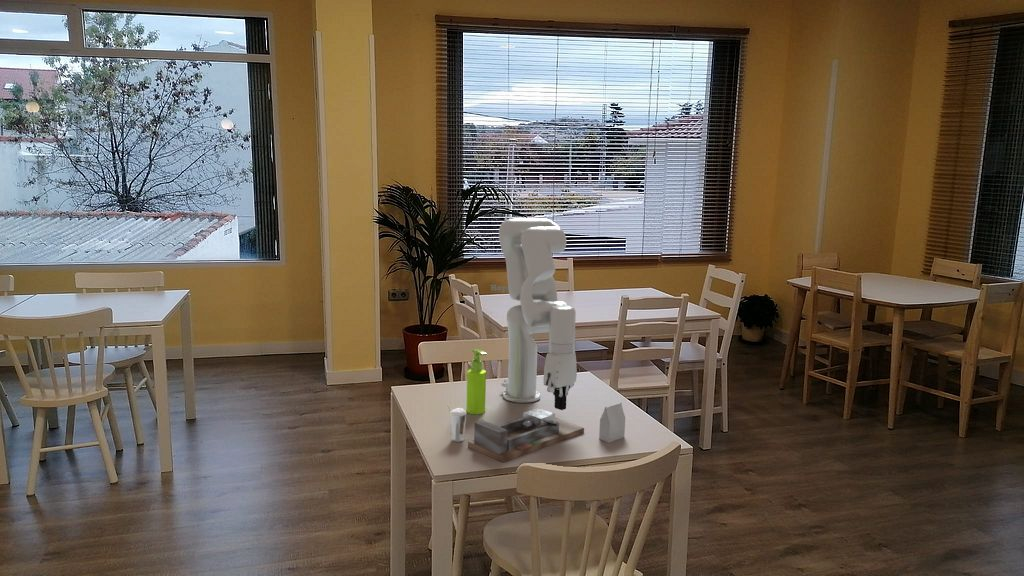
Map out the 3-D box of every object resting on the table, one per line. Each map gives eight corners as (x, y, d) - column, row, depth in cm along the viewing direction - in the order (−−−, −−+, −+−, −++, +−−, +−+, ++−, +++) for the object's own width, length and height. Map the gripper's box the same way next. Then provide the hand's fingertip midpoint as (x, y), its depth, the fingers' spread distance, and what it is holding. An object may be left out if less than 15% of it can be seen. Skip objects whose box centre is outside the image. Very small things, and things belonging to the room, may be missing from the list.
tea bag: (624, 437, 215) (626, 404, 213) (608, 442, 210) (610, 409, 209) (614, 433, 217) (616, 401, 216) (599, 438, 213) (600, 405, 211)
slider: (537, 424, 218) (537, 407, 217) (562, 433, 211) (563, 417, 210) (515, 431, 212) (516, 414, 211) (541, 441, 205) (541, 424, 204)
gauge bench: (549, 419, 227) (550, 396, 226) (583, 432, 217) (585, 408, 216) (467, 446, 204) (468, 420, 203) (502, 462, 195) (503, 435, 193)
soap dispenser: (476, 416, 229) (477, 354, 225) (462, 410, 234) (463, 349, 230) (491, 412, 232) (492, 351, 229) (477, 406, 237) (478, 346, 234)
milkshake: (448, 436, 212) (448, 403, 210) (466, 437, 212) (467, 403, 210) (446, 442, 207) (446, 408, 205) (465, 443, 207) (465, 409, 205)
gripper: (569, 342, 223) (567, 400, 226) (534, 349, 213) (533, 410, 215) (588, 346, 218) (586, 406, 221) (553, 354, 208) (552, 417, 210)
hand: (560, 408), depth 218 cm, fingers closed
